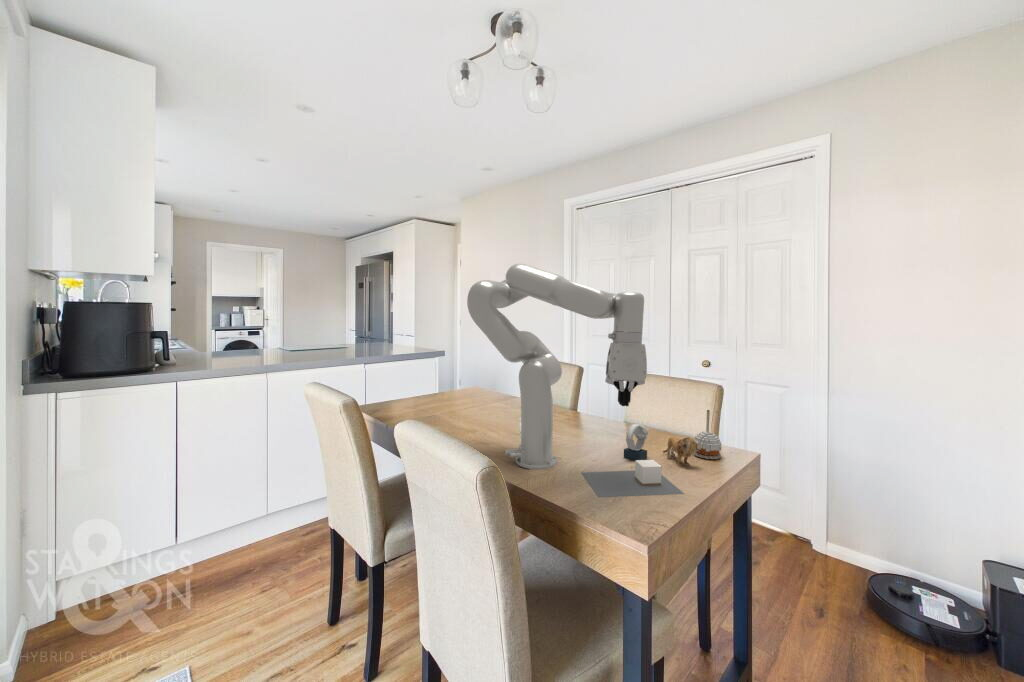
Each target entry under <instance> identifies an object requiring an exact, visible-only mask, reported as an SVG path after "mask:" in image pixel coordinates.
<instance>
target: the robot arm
mask: <svg viewBox="0 0 1024 682" xmlns="http://www.w3.org/2000/svg"><path fill="white" fill-rule="evenodd" d="M528 297H531V298H534V299H537V300H540V301H543V302H544V303H548V304H551V305H553V306H556V307H559V308H562V309H564V310H567V311H570V312H573V313H576V314H578V315H581V316H583V317H587V318H590V319H610V318H611V319H612V318H613V319H614V320H613V331H612V333H608V336H607V337H608V338H607V339H611V340H612V342H610V345H609V348H608V354H607V358H606V365H605V366H606V367H605V376H606V377H605V381H604V382H605V383H606V384H609V385H612V386H614V387H615V388H616V390H617V402H618V404H619V405H620V406H621V407H629V405H630V403H631V397H632V396H631V394H632V392H633V391H634V389H635V388H636V387H638V386H642V385H645V383H646V379H647V376H648V368H647V367H648V363H647V360H648V359H647V349H646V344H645V343H643V327H644V325H643V324H644V311H645V309H644V308H645V296H644V294H642V293H640V292H630V291H629V292H623V291H622V292H618V293H613V292H607V291H603V290H599V289H596V288H592V287H590V286H589V287H588V286H586V285H583V284H580V283H578V282H577V283H576V282H575V281H571V280H568V279H566V277H564V276H562V275H560V274H556V273H553V272H550V271H547V270H543V269H540V268H537V267H534V266H531V265H528V264H525V263H515V264H513V265H511V266H510V267H509V268H508V269H507V271H506V273H505V279H504V280H502V281H497V280H488V279H487V280H479V281H477V282H475V283H474V284H473V285H472V286H471V287H470V289H469V290H468V293H467V300H466V301H467V302H466V305H467V309H468V313H469V315H470V317H471V319H472V321H473V322H474V324H475V325H476V326H477V327H478V328H479V329H480V330H481V332H482V333H483V334H484V335H485V336H486V338H487V339H488V340H489V342H491V344H492V345H493V346H494V347H495V348H496V350H497V351H498V352H499V353H500V354H501V356H502V357H503V358H504V359H505V360H507V362H510V363H512V364H513V363H515V364H517V363H520V362H522V365H521V367H520V369H519V372H518V384H519V390H520V391H519V392H520V444H519V445H518V447H515V449H511V448H509V449H508V448H507V449H506V448H505V449H504V450H505V451H504V453H505V456H506V457H507V456H508V457H510V458H515V464H516V465H517V466H518V467H521V468H524V469H531V470H544V469H545V470H546V469H550V468H554V467H555V466H556V465H558V457H557V456H555V455H553V435H554V434H553V433H554V432H553V428H554V427H553V424H554V423H553V421H554V420H553V416H554V415H553V414H554V411H553V409H554V408H553V407H554V405H553V394H552V386H553V385H554V384H557V383H558V382H559V380H560V379H561V377H562V373H563V369H562V365H561V362H560V361H559V360H558V358H557V357H556V356H555V355H554V353H552V352H551V350H550V349H549V348H548V347H547V346H546V345H545V344H544V343H543V341H542V340H541V339H540V338H539V337H538V336H537V335H535V334H534V333H532V332H531V331H527V330H519V329H518V328H516V327H515V325H514V324H513V323H512V322H511V321H510V320H509V319H508V317H507V316H506V315H504V314H503V313H502V312H501V311H500V310H499V309H504V308H508V307H510V306H512V305H513V304H515V303H518V302H519V301H522V300H524V299H526V298H528ZM624 382H625V383H624Z"/></svg>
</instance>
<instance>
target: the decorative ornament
mask: <svg viewBox="0 0 1024 682" xmlns="http://www.w3.org/2000/svg"><path fill="white" fill-rule="evenodd" d="M710 412H711V411H710V409H706V426H705V427H706V428H705V431H700V433H699V432H698V433H696V435H694V438H695V442H697V444H699V445H700V448H699V449H698V451H696V450H695V453H694V454H693V455H694V456H696V457H699V458H701V459H706V460H717V459H720V458H721V457H722V456H721V453H720V451H721V450H722V442H721V439H720V437H718V435H717V434H715V433H713V432H711V431H710Z"/></svg>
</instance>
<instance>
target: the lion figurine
mask: <svg viewBox="0 0 1024 682" xmlns="http://www.w3.org/2000/svg"><path fill="white" fill-rule="evenodd" d="M699 448H700V445H699V444H697V442H695V437H690V436H687V437H683V438H681V439H678V438H677V437H676V436H675V437H674V436H671V437H669V438H668V441H667V448H666V449H665V450H663V451H662V453H663V454H665V453H666V459H667V460H671V456H673V457H675V456H676V455H675V453H676V454H677V466H678V467H682V466H683V464H684V465H685V466H689V465H690V463H689V462H688V460H689V458H690V457H692V456H691V455H694V453H695V450H696V451H698V449H699ZM674 452H675V453H674ZM670 455H671V456H670ZM682 457H683V458H684V460H683V462H682V459H683V458H682Z"/></svg>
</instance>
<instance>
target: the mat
mask: <svg viewBox="0 0 1024 682" xmlns="http://www.w3.org/2000/svg"><path fill="white" fill-rule="evenodd" d="M580 474H581V475H582V476H583V478H584V480H586V482H587V483H588V485H589V486H590V487H591V489H592V491H593V492H594V493H595V495H596V496H597V498H613V497H615V498H616V497H619V498H620V497H634V496H635V497H639V496H665V495H666V496H667V495H669V496H670V495H685V493H684V492H683V491H682V490H681V489H680V488H679V487H677V486H676V485H675V484H673V482H672V481H670V480H669V479H667V478H666V477H665V476H664V475H663V474H661V485H655V486H642V485H641V484H640V483H639V482H638V481H637V480H636V479H635V470H620V471H619V470H616V471H615V470H614V471H612V470H611V471H587V472H585V471H584V472H583V471H582V472H580Z"/></svg>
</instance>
